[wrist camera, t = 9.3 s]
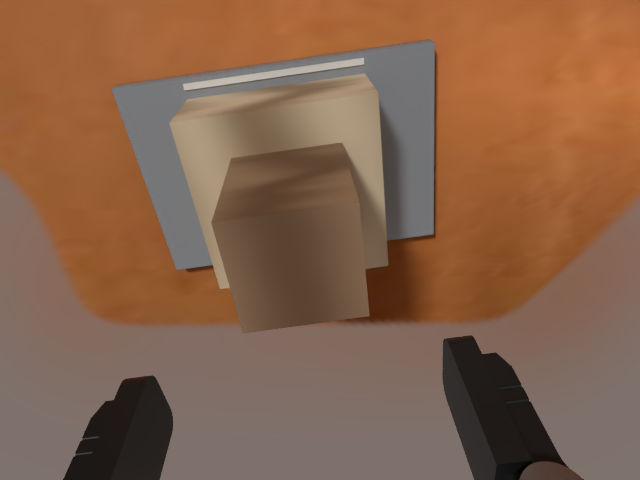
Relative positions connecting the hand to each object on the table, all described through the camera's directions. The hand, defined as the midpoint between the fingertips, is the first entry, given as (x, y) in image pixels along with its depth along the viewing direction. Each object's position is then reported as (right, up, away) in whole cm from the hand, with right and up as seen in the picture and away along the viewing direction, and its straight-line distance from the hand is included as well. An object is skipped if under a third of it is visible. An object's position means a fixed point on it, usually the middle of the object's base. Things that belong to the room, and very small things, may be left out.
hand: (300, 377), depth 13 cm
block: (-1, +6, +9) cm, 11 cm away
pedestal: (-1, +8, +12) cm, 15 cm away
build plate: (-1, +8, +13) cm, 15 cm away
